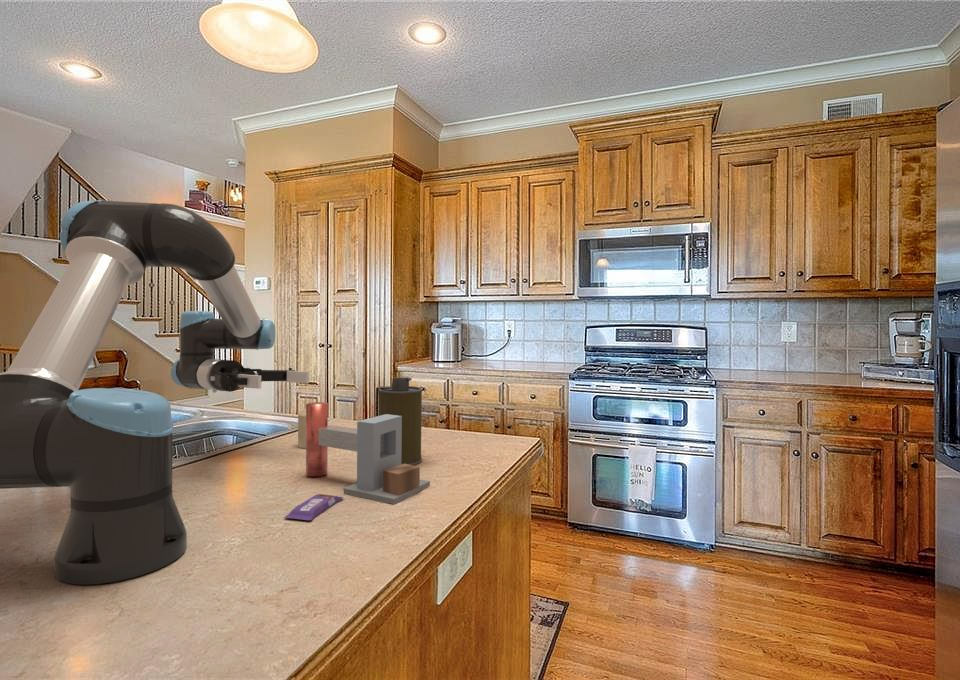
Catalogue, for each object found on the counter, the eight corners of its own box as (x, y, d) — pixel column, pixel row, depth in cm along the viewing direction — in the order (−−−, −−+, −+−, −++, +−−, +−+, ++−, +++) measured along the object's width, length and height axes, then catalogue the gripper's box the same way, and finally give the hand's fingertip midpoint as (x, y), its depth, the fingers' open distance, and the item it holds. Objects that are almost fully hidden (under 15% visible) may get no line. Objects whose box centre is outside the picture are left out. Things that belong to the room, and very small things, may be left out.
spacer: (382, 491, 99) (398, 495, 97) (383, 470, 99) (398, 474, 96) (404, 483, 104) (419, 487, 102) (404, 463, 104) (419, 466, 101)
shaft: (371, 488, 102) (372, 412, 101) (301, 474, 110) (301, 404, 110) (385, 482, 106) (386, 409, 105) (316, 469, 114) (316, 401, 114)
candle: (324, 445, 137) (324, 408, 137) (307, 449, 133) (307, 411, 132) (310, 442, 140) (310, 406, 140) (293, 446, 136) (293, 408, 135)
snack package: (310, 514, 86) (283, 511, 87) (310, 526, 86) (283, 523, 87) (344, 492, 97) (320, 489, 98) (344, 502, 97) (320, 500, 98)
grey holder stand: (394, 504, 95) (394, 428, 94) (343, 493, 100) (343, 421, 100) (429, 486, 105) (430, 417, 105) (382, 477, 111) (382, 412, 110)
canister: (425, 456, 128) (426, 375, 127) (416, 468, 118) (417, 380, 117) (382, 454, 129) (383, 374, 128) (369, 466, 119) (370, 379, 118)
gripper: (264, 386, 137) (325, 391, 127) (171, 396, 115) (236, 402, 105) (264, 357, 137) (325, 360, 127) (171, 362, 115) (236, 365, 105)
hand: (285, 379), depth 116 cm, fingers open, 13 cm apart
